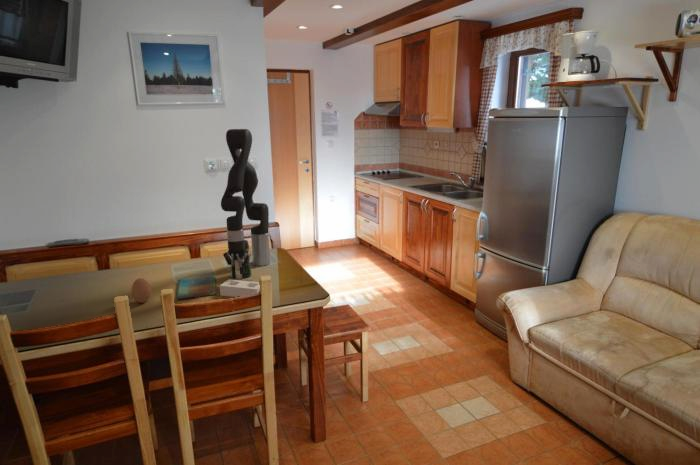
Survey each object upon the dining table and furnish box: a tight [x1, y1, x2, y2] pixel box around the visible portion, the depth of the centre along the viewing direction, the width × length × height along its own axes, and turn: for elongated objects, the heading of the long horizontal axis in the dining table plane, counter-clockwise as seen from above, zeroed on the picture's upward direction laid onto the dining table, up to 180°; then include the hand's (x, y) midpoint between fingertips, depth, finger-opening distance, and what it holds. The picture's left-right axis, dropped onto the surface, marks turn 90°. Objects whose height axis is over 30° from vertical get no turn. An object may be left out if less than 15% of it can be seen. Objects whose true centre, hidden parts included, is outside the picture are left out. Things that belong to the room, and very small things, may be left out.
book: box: [176, 275, 217, 302], centre depth 201 cm, size 17×23×2 cm
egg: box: [131, 277, 152, 303], centre depth 185 cm, size 8×8×11 cm
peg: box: [234, 260, 243, 280], centre depth 205 cm, size 3×3×10 cm
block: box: [219, 278, 260, 298], centre depth 193 cm, size 8×18×5 cm, turn 76°
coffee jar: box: [230, 239, 252, 279], centre depth 214 cm, size 10×8×19 cm
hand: (238, 273), depth 205 cm, fingers closed on peg, 3 cm apart
